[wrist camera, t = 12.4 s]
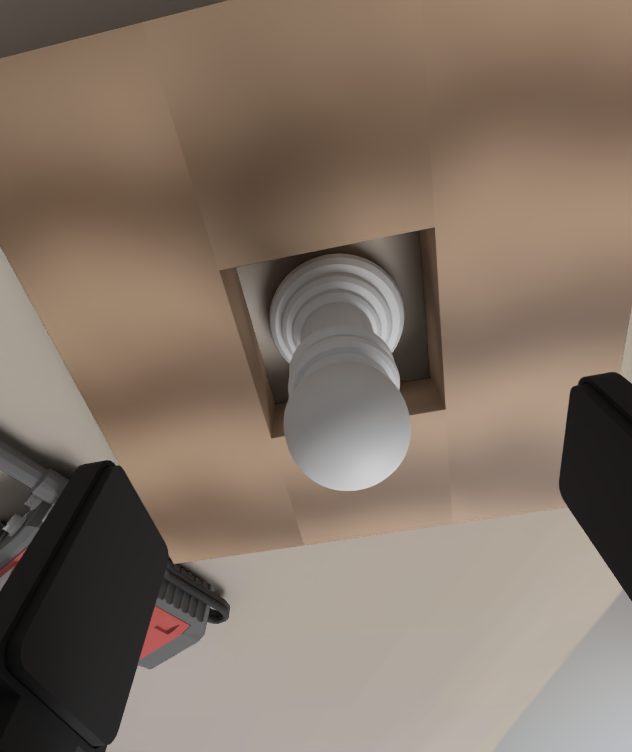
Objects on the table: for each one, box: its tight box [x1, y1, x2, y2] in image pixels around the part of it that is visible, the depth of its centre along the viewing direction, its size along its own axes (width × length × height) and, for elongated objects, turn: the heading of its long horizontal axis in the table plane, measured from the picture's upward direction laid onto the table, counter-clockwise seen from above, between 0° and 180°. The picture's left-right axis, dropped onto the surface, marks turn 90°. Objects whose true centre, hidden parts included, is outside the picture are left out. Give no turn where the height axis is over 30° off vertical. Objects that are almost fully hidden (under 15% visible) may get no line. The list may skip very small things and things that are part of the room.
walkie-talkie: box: [0, 441, 230, 669], centre depth 22 cm, size 9×4×20 cm
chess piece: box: [269, 254, 411, 491], centre depth 14 cm, size 5×5×9 cm
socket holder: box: [0, 0, 632, 564], centre depth 17 cm, size 20×20×2 cm
